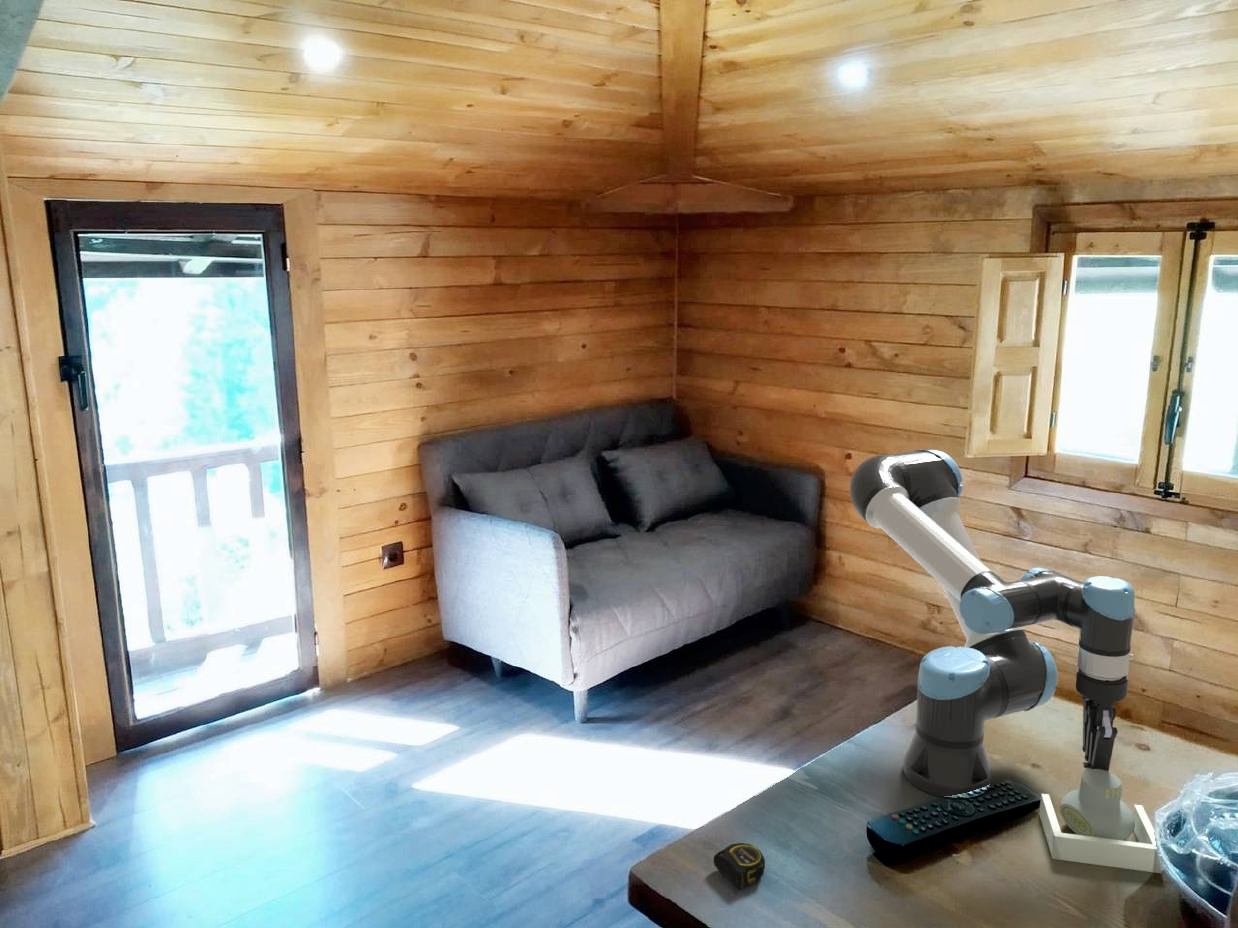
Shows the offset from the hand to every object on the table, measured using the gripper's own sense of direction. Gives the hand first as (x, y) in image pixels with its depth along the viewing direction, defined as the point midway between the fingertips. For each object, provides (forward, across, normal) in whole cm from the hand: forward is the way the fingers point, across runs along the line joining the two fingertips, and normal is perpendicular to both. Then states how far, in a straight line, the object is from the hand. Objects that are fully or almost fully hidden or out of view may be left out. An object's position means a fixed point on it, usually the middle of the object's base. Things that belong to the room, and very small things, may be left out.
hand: (1092, 799), depth 159 cm
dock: (+2, -8, +1) cm, 9 cm away
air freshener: (+2, -6, +1) cm, 6 cm away
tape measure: (+1, -30, +56) cm, 64 cm away
